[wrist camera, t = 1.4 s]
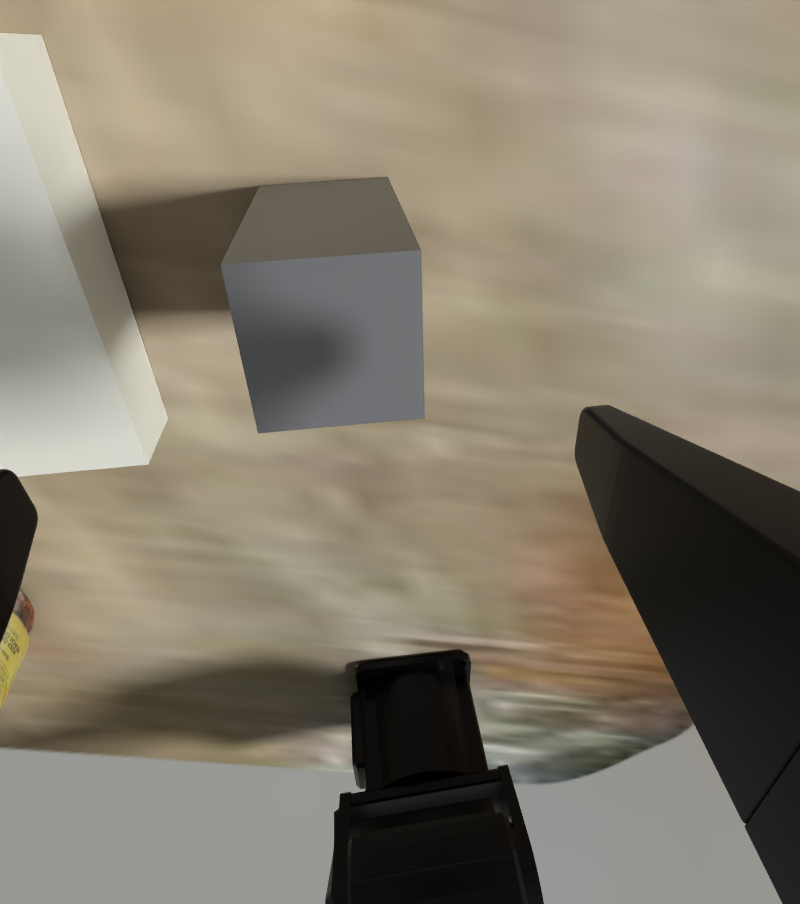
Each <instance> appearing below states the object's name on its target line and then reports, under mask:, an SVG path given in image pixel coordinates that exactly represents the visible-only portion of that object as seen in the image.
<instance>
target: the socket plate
mask: <svg viewBox="0 0 800 904" xmlns="http://www.w3.org/2000/svg"><path fill="white" fill-rule="evenodd" d="M167 420H168V417H167V414H166V411H165V408H164V405H163V402H162V399H161V396H160V393H159V390H158V387H157V384H156V381H155V378H154V375H153V372H152V369H151V366H150V363H149V359H148V356H147V353H146V350H145V347H144V344H143V341H142V338H141V335H140V332H139V329H138V326H137V323H136V320H135V317H134V314H133V311H132V308H131V305H130V302H129V299H128V296H127V293H126V290H125V287H124V284H123V281H122V278H121V274H120V271H119V268H118V265H117V262H116V259H115V256H114V253H113V250H112V247H111V244H110V241H109V238H108V235H107V232H106V229H105V226H104V223H103V220H102V217H101V214H100V211H99V208H98V205H97V202H96V199H95V196H94V193H93V190H92V186H91V183H90V180H89V177H88V174H87V171H86V168H85V165H84V162H83V159H82V156H81V153H80V150H79V147H78V144H77V141H76V138H75V135H74V132H73V129H72V126H71V123H70V120H69V117H68V114H67V111H66V108H65V105H64V102H63V98H62V95H61V92H60V89H59V86H58V83H57V80H56V77H55V74H54V71H53V68H52V65H51V62H50V59H49V56H48V53H47V50H46V47H45V44H44V41H43V38H42V35H30V34H9V33H0V469H8V470H11V471H12V472H14V473H15V474H16V475H17V477H19V476H30V475H40V474H51V473H62V472H73V471H83V470H94V469H105V468H115V467H126V466H137V465H148V463H149V461H150V459H151V456H152V454H153V452H154V450H155V447H156V445H157V443H158V440H159V438H160V436H161V433H162V431H163V429H164V427H165V424H166V422H167Z"/></svg>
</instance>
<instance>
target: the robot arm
mask: <svg viewBox="0 0 800 904" xmlns="http://www.w3.org/2000/svg"><path fill="white" fill-rule="evenodd" d="M575 459H576V464H577V467H578V469H579V472H580V475H581V478H582V481H583V484H584V487H585V490H586V492H587V495H588V498H589V501H590V504H591V507H592V510H593V513H594V515H595V518H596V521H597V524H598V527H599V529H600V532H601V535H602V537H603V540H604V542H605V544H606V546H607V548H608V551H609V553H610V555H611V557H612V559H613V561H614V563H615V565H616V567H617V569H618V571H619V573H620V575H621V577H622V579H623V581H624V583H625V585H626V587H627V589H628V591H629V593H630V595H631V597H632V599H633V601H634V603H635V605H636V607H637V609H638V611H639V613H640V615H641V617H642V619H643V621H644V623H645V625H646V627H647V629H648V631H649V634H650V636H651V638H652V640H653V642H654V644H655V646H656V648H657V650H658V652H659V654H660V656H661V658H662V660H663V662H664V664H665V666H666V668H667V670H668V672H669V674H670V676H671V678H672V680H673V682H674V684H675V686H676V688H677V690H678V692H679V694H680V696H681V698H682V700H683V702H684V704H685V706H686V708H687V710H688V712H689V714H690V716H691V718H692V721H693V723H694V725H695V727H696V729H697V730H698V733H699V735H700V737H701V739H702V741H703V743H704V744H705V747H706V749H707V750H708V753H709V755H710V757H711V759H712V761H713V763H714V765H715V767H716V769H717V771H718V773H719V775H720V777H721V779H722V781H723V783H724V785H725V787H726V789H727V791H728V793H729V795H730V797H731V799H732V801H733V803H734V805H735V808H736V809H737V812H738V813H739V816H740V818H741V820H742V821H743V822H744V823H746V825H745V828H746V831H747V833H748V835H749V837H750V839H751V841H752V843H753V845H754V847H755V849H756V851H757V853H758V855H759V857H760V859H761V861H762V863H763V865H764V867H765V869H766V871H767V873H768V875H769V877H770V879H771V881H772V883H773V885H774V887H775V889H776V891H777V893H778V895H779V897H780V899H781V901H782V903H783V904H800V491H798V490H795V489H793V488H791V487H789V486H787V485H784V484H782V483H780V482H778V481H776V480H773V479H771V478H769V477H767V476H765V475H762V474H760V473H758V472H756V471H753V470H751V469H749V468H747V467H745V466H742V465H740V464H738V463H736V462H734V461H731V460H729V459H727V458H725V457H723V456H720V455H718V454H716V453H714V452H711V451H709V450H707V449H705V448H703V447H700V446H698V445H696V444H694V443H692V442H689V441H687V440H685V439H683V438H681V437H678V436H676V435H674V434H672V433H670V432H667V431H665V430H663V429H661V428H658V427H656V426H654V425H652V424H650V423H647V422H645V421H643V420H641V419H639V418H636V417H634V416H632V415H630V414H628V413H625V412H623V411H621V410H619V409H617V408H614V407H612V406H610V405H600V406H591V407H585V408H584V409H583V410H582V412H581V414H580V418H579V425H578V431H577V438H576V445H575ZM37 521H38V516H37V511H36V508H35V506H34V504H33V503H32V501H31V499H30V497H29V496H28V494H27V492H26V491H25V489H24V487H23V485H22V484H21V482H20V480H19V479H18V477H17V475H16V474H15V473H14V472H12V471H11V470H8V469H0V644H1V641H2V639H3V636H4V634H5V631H6V628H7V626H8V623H9V621H10V618H11V615H12V613H13V610H14V607H15V604H16V600H17V597H18V594H19V590H20V586H21V583H22V579H23V575H24V572H25V568H26V564H27V560H28V557H29V553H30V549H31V545H32V542H33V538H34V534H35V531H36V527H37ZM470 668H471V662H470V657H469V654H467V653H465V652H459V653H451V654H442V655H433V656H425V657H416V658H407V659H399V660H390V661H381V662H373V663H364V664H360V665H358V666H357V667H356V679H357V685H358V692H355V693H353V694H352V695H351V697H350V699H351V729H352V759H353V769H354V774H355V779H356V784H357V786H358V787H359V788H360V789H364V788H365V792H358V793H353V794H351V792H347V793H341V794H340V803H339V809H338V810H336V811H335V812H334V851H333V852H334V853H333V858H332V864H331V870H330V876H329V882H328V888H327V893H326V900H325V901H326V902H325V904H544V902H543V896H542V892H541V886H540V882H539V877H538V872H537V868H536V863H535V859H534V855H533V851H532V847H531V844H530V840H529V837H528V833H527V830H526V826H525V823H524V820H523V816H522V813H521V809H520V806H519V802H518V799H517V796H516V792H515V789H514V785H513V782H512V778H511V775H510V771H509V768H508V765H503V766H497V769H491V770H488V766H487V761H486V757H485V752H484V748H483V743H482V738H481V734H480V729H479V725H478V720H477V716H476V711H475V707H474V702H473V698H472V693H471V689H470Z"/></svg>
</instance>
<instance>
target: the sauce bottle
mask: <svg viewBox="0 0 800 904" xmlns="http://www.w3.org/2000/svg"><path fill="white" fill-rule="evenodd" d="M33 624H34V610H33V607H32V605H31V603H30V601H29V599H28V598H27V596H26V595H25V594H24V593H23V592H22V591H21V589H20V590H19V594H18V597H17V600H16V604H15V607H14V610H13V613H12V615H11V618H10V621H9V623H8V626H7V628H6V631H5V634H4V636H3V639H2V641H1V644H0V709H1V706H2V704H3V702H4V700H5V698H6V696H7V694H8V692H9V690H10V687H11V685H12V683H13V681H14V679H15V677H16V675H17V672H18V670H19V668H20V666H21V664H22V661H23V659H24V657H25V655H26V653H27V650H28V646H29V635H30V633H31V630H32V628H33Z"/></svg>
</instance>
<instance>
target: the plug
mask: <svg viewBox="0 0 800 904" xmlns="http://www.w3.org/2000/svg"><path fill="white" fill-rule="evenodd" d="M220 266H221V271H222V275H223V279H224V284H225V288H226V293H227V297H228V302H229V306H230V310H231V315H232V319H233V324H234V328H235V333H236V337H237V342H238V346H239V350H240V355H241V359H242V364H243V368H244V373H245V377H246V381H247V386H248V390H249V395H250V399H251V404H252V408H253V412H254V417H255V421H256V426H257V430H258V433H267V432H278V431H289V430H300V429H311V428H322V427H333V426H343V425H354V424H365V423H376V422H387V421H398V420H409V419H420V418H425V410H424V364H423V318H422V271H421V249H420V247H419V244H418V242H417V240H416V238H415V236H414V233H413V231H412V229H411V227H410V225H409V222H408V220H407V218H406V216H405V214H404V212H403V209H402V207H401V205H400V203H399V201H398V198H397V196H396V194H395V192H394V190H393V187H392V185H391V183H390V181H389V179H388V177H382V178H367V179H352V180H337V181H322V182H307V183H292V184H277V185H262V186H259V188H258V190H257V192H256V194H255V196H254V198H253V200H252V202H251V204H250V206H249V208H248V210H247V212H246V214H245V216H244V218H243V220H242V222H241V224H240V226H239V228H238V230H237V232H236V234H235V236H234V238H233V240H232V242H231V244H230V246H229V248H228V250H227V252H226V254H225V256H224V258H223V260H222V262H221V264H220Z"/></svg>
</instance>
